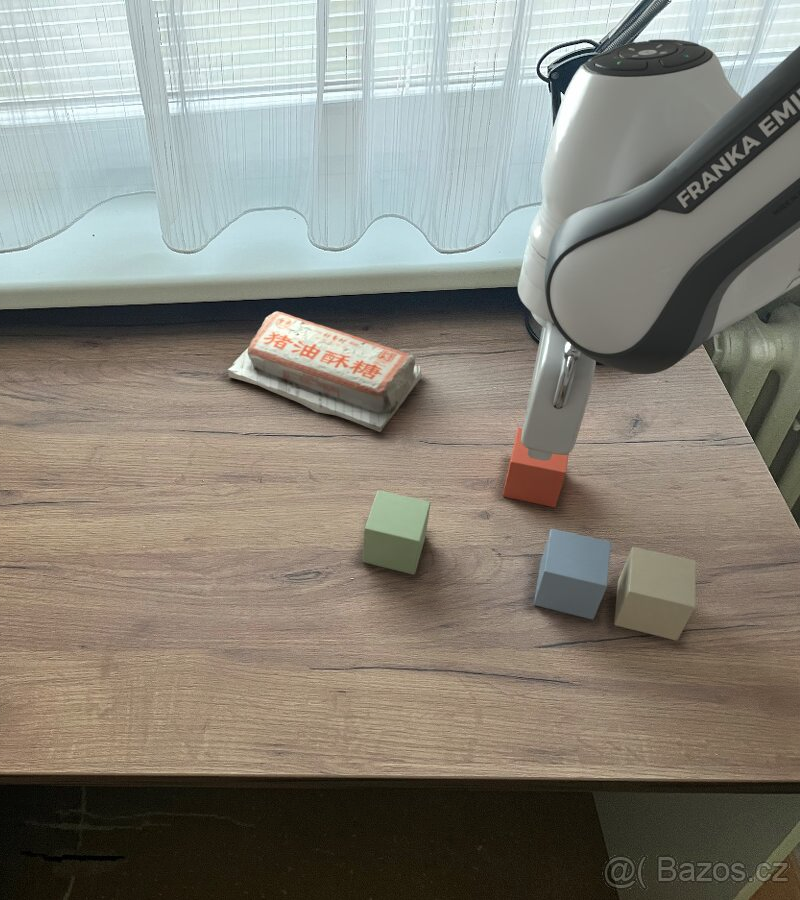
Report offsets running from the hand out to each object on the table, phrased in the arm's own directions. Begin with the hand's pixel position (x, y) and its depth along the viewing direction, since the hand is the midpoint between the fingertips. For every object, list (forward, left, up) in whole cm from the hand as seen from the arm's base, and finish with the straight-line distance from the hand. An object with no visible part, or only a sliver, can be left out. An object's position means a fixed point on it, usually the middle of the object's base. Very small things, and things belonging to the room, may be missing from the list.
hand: (545, 414), depth 73 cm
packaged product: (+22, -9, -9) cm, 25 cm away
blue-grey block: (-4, +11, -9) cm, 15 cm away
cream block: (-10, +11, -9) cm, 17 cm away
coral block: (0, 0, -9) cm, 9 cm away
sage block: (+10, +11, -9) cm, 17 cm away
